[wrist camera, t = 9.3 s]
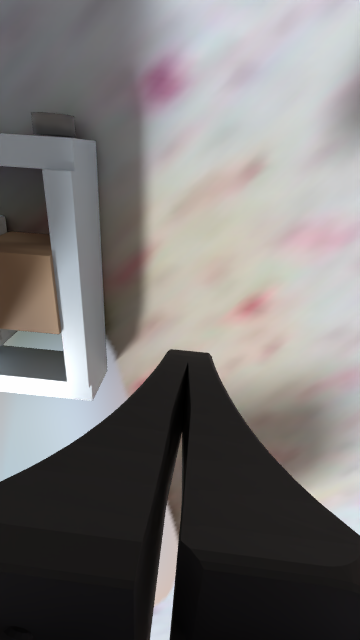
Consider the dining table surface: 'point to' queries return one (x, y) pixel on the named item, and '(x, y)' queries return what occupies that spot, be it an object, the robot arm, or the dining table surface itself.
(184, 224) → the dining table surface
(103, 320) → the grey square frame
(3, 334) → the supplement box
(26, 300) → the tan cube
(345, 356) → the dining table surface
